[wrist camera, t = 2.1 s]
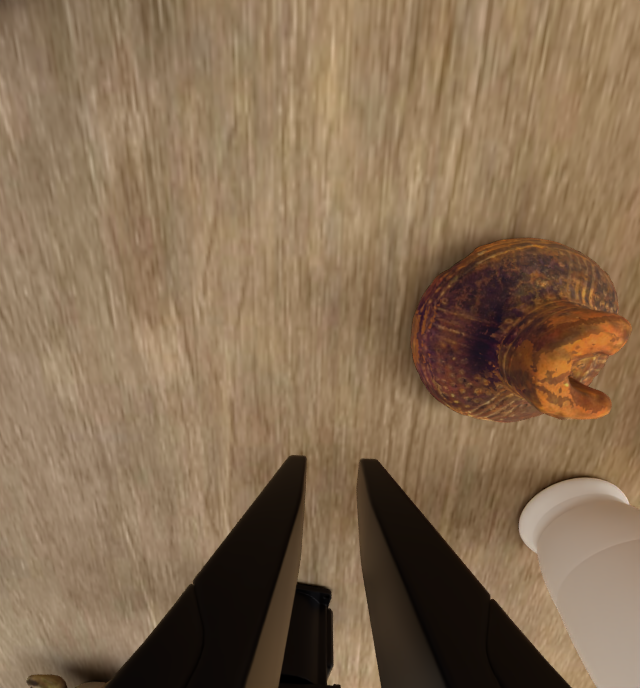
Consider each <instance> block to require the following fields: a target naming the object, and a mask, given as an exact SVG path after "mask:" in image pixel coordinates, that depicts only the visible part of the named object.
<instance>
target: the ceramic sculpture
mask: <svg viewBox="0 0 640 688" xmlns="http://www.w3.org/2000/svg"><path fill="white" fill-rule="evenodd" d="M108 682H109V681H108ZM108 682H107V683H105V682H86V683H83V684H81V685H79V686H77V687H76V688H104V687H105V686H106V685H107V684H108ZM27 684H28V685H29V686H31V688H67V685H66V682H65V681H64V680H63V679H62V678H61V677H60V676H56V675H31V676H30V677H28V678H27Z"/></svg>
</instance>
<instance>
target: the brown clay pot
mask: <svg viewBox="0 0 640 688" xmlns="http://www.w3.org/2000/svg"><path fill="white" fill-rule="evenodd" d="M631 331H632V326H631V324H630V322H629V321H628V320H626V319H625V318H623V317H622V316H620V315H618V298H617V293H616V291H615V288H614V285H613V282H612V281H611V279H610V277H609V276H608V274H607V273H606V272H605V271H603V270H602V269H601V268H600V267H599V265H597V263H596V262H594V261H593V260H592V259H590V258H589V257H587V256H586V255H584V254H582V253H581V252H579V251H576V250H574V249H572V248H569V247H567V246H565V245H563V244H560V243H557V242H554V241H549V240H544V239H536V238H519V239H505V240H500V241H496V242H494V243H492V244H487V245H483V246H480V247H478V248H476V249H475V250H474V251H473V252H472V253H471V254H470V255H469V256H468V257H466V258H465V259H463V260H462V261H459V262H458V263H456V264H455V265H454V266H452V267H451V268H450V269H448V270H446V271H444V272H443V273H441V274H440V275H438V276H437V277H436V278H435V279H434V280H433V282H432V284H431V285H430V286H429V287H428V289H427V290H426V291H425V293H424V294H423V296H422V298H421V300H420V302H419V305H418V307H417V310H416V312H415V315H414V318H413V322H412V332H411V341H410V344H411V349H412V354H413V360H414V363H415V366H416V369H417V371H418V372H419V375H420V378H421V380H422V381H423V383H424V384H425V386H426V388H427V389H428V391H429V392H430V393H431V394H432V395H433V396H434V397H435V398H436V399H437V400H438V401H439V402H441V403H442V404H444V405H446V406H447V407H448V408H450V409H452V410H453V411H455V412H457V413H460V414H463V415H467V416H470V417H473V418H476V419H481V420H489V421H496V422H515V421H521V420H525V419H529V418H531V417H535V416H539V415H541V414H544V413H545V414H547V415H549V416H552V417H555V418H558V419H561V420H567V419H597V418H600V417H603V416H604V415H606V414H608V413H609V412H610V409H611V407H612V404H611V400H610V398H609V397H608V396H607V395H606V394H605V393H603V392H601V391H599V390H596V389H593V388H590V387H588V386H589V384H590V383H591V382H592V379H593V378H594V377H595V376H596V375H597V374H598V372H599V371H600V370H601V369H602V368H603V367H604V365H605V362H606V360H607V359H608V357H609V355H613V354H615V353H616V352H617V351H619V350H620V349H621V348H622V347H623V346H624V345H625V343H626V342H627V340H628V338H629V337H630V334H631Z"/></svg>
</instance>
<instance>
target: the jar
mask: <svg viewBox="0 0 640 688" xmlns="http://www.w3.org/2000/svg"><path fill="white" fill-rule="evenodd" d="M519 532H520V536H521V538H522V540H523V541H524V543H525V544H526V545H527V546H528V547H529V548H530V549H531V550H532V551H534V552H535V553H537V554H538V560H539V565H540V569H541V572H542V575H543V578H544V581H545V584H546V586H547V589H548V591H549V593H550V595H551V598H552V600H553V602H554V604H555V606H556V608H557V610H558V611H559V613H560V615H561V618H562V620H563V623H564V625H565V627H566V629H567V632H568V634H569V636H570V638H571V640H572V642H573V644H574V647H575V649H576V651H577V653H578V655H579V656H580V658H581V660H582V662H583V664H584V666H585V668H586V670H587V671H588V673H589V675H590V677H591V679H592V680H593V682H594V684H595V686H596V687H597V688H640V509H639V508H636V507H634V506H631V505H630V504H629V502H628V500H627V498H626V496H625V495H624V493H623V492H622V491H621V490H620V489H619V488H618V487H616V486H615V485H613V484H612V483H610V482H607V481H605V480H601V479H597V478H573V479H569V480H565V481H561V482H559V483H556V484H553V485H551V486H549V487H548V488H546V489H544V490H542V491H541V492H540V493H538V494H537V495H536V496H534V497H533V498H532V499H531V500H530V501H529V502H528V504H527V505H526V507H525V508H524V510H523V511H522V514H521V516H520V520H519Z"/></svg>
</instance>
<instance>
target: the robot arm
mask: <svg viewBox="0 0 640 688" xmlns="http://www.w3.org/2000/svg"><path fill="white" fill-rule="evenodd" d="M306 468H307V458H306V456H301V455H291V456H289V457H288V458H287V460H286V461H285V462H284V463H283V465H282V466H281V467H280V469H279V470H278V471H277V473H276V474H275V475H274V476H273V478H272V479H271V480H270V482H269V483H268V484H267V485H266V487H265V488H264V489H263V491H262V492H261V493H260V495H259V496H258V497H257V498H256V500H255V501H254V502H253V504H252V505H251V506H250V507H249V509H248V510H247V511H246V513H245V514H244V515H243V517H242V518H241V519H240V520H239V522H238V523H237V524H236V526H235V527H234V528H233V529H232V531H231V532H230V533H229V535H228V536H227V537H226V539H225V540H224V541H223V542H222V544H221V545H220V546H219V548H218V549H217V550H216V551H215V553H214V554H213V555H212V557H211V558H210V559H209V561H208V562H207V563H206V564H205V566H204V567H203V568H202V570H201V571H200V572H199V573H198V575H197V576H196V577H195V579H194V580H193V584H190V585H189V586H188V587H187V589H186V590H185V591H184V593H183V594H182V595H181V596H180V598H179V599H178V600H177V602H176V603H175V604H174V606H173V607H172V608H171V609H170V611H169V612H168V613H167V614H166V615H165V617H164V618H163V619H162V620H161V622H160V623H159V624H158V625H157V627H156V628H155V629H154V630H153V632H152V633H151V634H150V635H149V636H148V638H147V639H146V640H145V641H144V643H143V644H142V645H141V646H140V647H139V648H138V649H137V651H136V652H135V653H134V654H133V655H132V656H131V657H130V659H129V660H128V661H127V662H126V663H125V664H124V665H123V666H122V668H121V669H120V670H119V671H118V672H117V673H116V674H115V676H114V677H113V678H112V679H111V680H110V681H109V682H108V684H107V685H106V686H105V687H104V688H341V686H340V685H338V684H334V685H333V686H330V685H327V680H328V677H329V675H330V673H331V670H332V668H333V612H332V610H331V609H329V608H328V606H329V603H330V600H331V590H329V589H325V588H319V587H313V586H307V585H301V584H297V578H298V573H299V566H300V560H301V549H302V536H303V521H304V506H305V492H306ZM357 509H358V525H359V542H360V556H361V566H362V573H363V579H364V585H365V591H366V597H367V603H368V609H369V616H370V622H371V628H372V634H373V640H374V646H375V652H376V658H377V664H378V670H379V676H380V682H381V688H571V687H570V685H569V684H568V683H567V682H566V681H565V680H564V679H563V678H562V677H561V676H560V675H559V674H558V672H557V671H556V670H555V669H554V668H553V667H552V666H551V665H550V664H549V663H548V662H547V660H546V659H545V658H544V657H543V656H542V655H541V654H540V652H539V651H538V650H537V649H536V648H535V647H534V645H533V644H532V643H531V642H530V641H529V640H528V639H527V637H526V636H525V635H524V634H523V633H522V632H521V630H520V629H519V628H518V627H517V626H516V625H515V624H514V622H513V621H512V620H511V619H510V618H509V616H508V615H507V614H506V613H505V612H504V610H503V609H502V608H501V607H500V606H499V604H498V603H497V602H496V601H495V600H494V599H491V600H490V594H489V593H488V592H487V590H486V589H485V588H484V587H483V586H482V584H481V583H480V582H479V581H478V580H477V578H476V577H475V576H474V575H473V574H472V572H471V571H470V570H469V569H468V568H467V566H466V565H465V564H464V563H463V562H462V560H461V559H460V558H459V557H458V556H457V554H456V553H455V552H454V551H453V550H452V548H451V547H450V546H449V545H448V544H447V542H446V541H445V540H444V539H443V538H442V536H441V535H440V534H439V533H438V532H437V531H436V529H435V528H434V527H433V526H432V525H431V523H430V522H429V521H428V520H427V519H426V517H425V516H424V515H423V514H422V513H421V511H420V510H419V509H418V508H417V507H416V505H415V504H414V503H413V502H412V501H411V499H410V498H409V497H408V496H407V495H406V493H405V492H404V491H403V490H402V489H401V487H400V486H399V485H398V484H397V483H396V481H395V480H394V479H393V478H392V477H391V475H390V474H389V473H388V472H387V471H386V469H385V468H384V467H383V466H382V465H381V463H380V462H379V461H378V460H376V459H361V460H360V462H359V469H358V478H357Z"/></svg>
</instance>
